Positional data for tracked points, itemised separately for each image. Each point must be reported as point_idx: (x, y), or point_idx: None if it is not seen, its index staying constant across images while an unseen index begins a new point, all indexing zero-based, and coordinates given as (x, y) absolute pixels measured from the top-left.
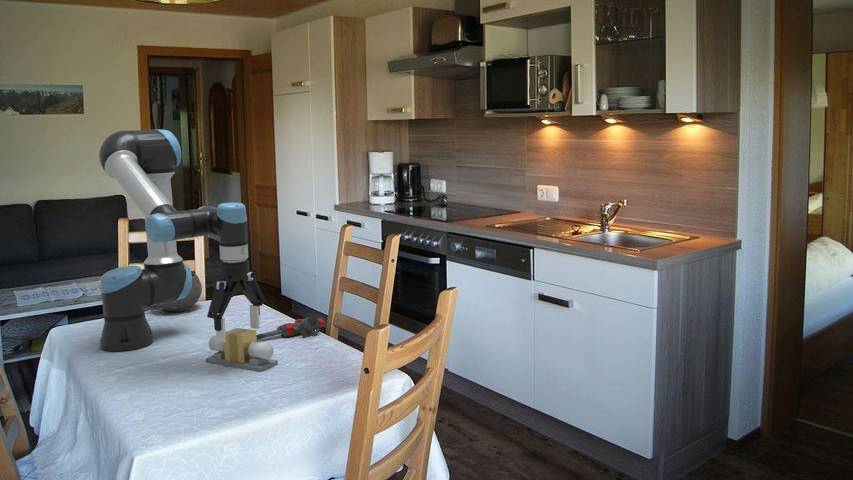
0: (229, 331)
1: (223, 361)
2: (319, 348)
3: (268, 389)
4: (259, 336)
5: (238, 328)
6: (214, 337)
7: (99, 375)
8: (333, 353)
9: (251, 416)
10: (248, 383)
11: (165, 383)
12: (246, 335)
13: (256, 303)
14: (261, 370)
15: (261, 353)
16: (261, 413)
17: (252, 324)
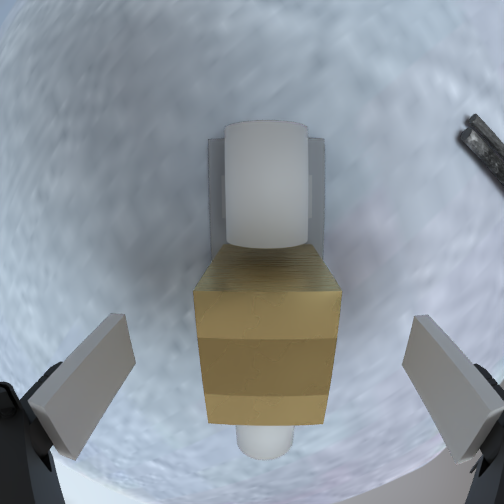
0: (241, 308)
1: (213, 244)
2: None
3: (147, 455)
4: (501, 178)
5: (331, 312)
6: (253, 142)
7: (26, 6)
8: (421, 440)
9: (67, 460)
10: (141, 411)
11: (21, 202)
12: (241, 420)
13: (477, 471)
14: None
15: (236, 433)
16: (82, 468)
17: (419, 342)
